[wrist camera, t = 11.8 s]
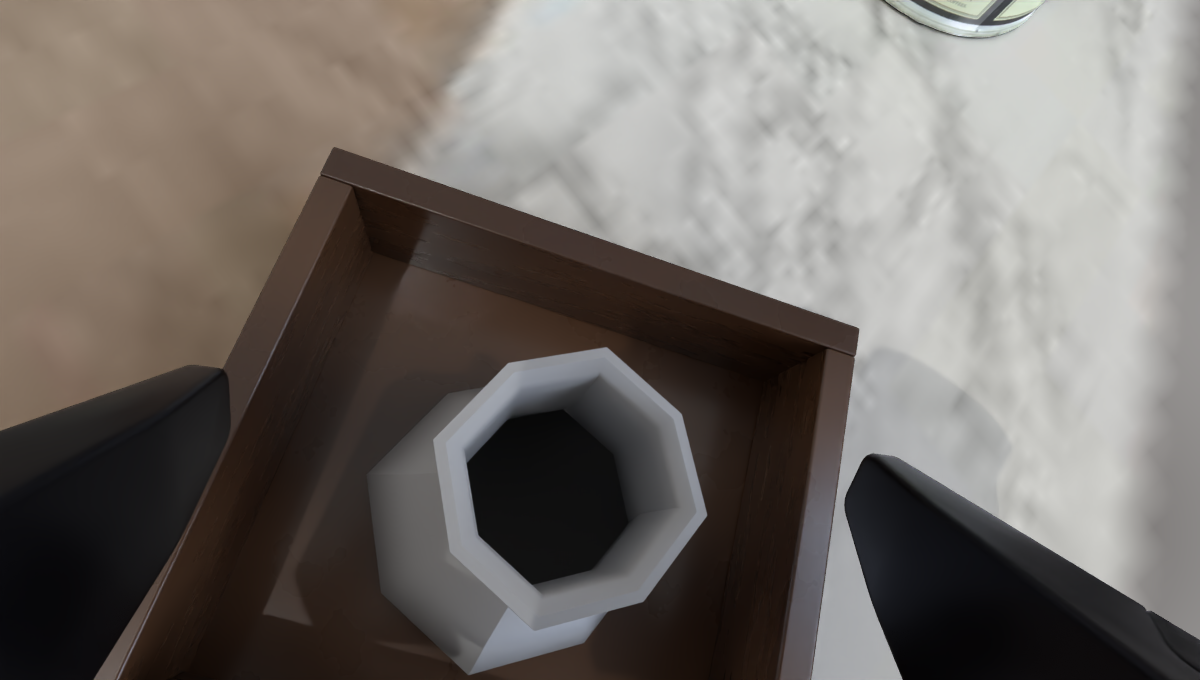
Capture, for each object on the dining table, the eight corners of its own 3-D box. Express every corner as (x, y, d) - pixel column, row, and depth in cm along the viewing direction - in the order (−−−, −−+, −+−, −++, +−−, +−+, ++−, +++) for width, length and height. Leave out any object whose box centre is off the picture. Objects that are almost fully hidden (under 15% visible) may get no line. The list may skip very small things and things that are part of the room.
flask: (317, 462, 16) (123, 353, 7) (562, 336, 19) (662, 128, 9) (451, 732, 15) (433, 1032, 6) (695, 563, 17) (960, 584, 8)
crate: (697, 830, 16) (779, 928, 12) (151, 693, 15) (29, 752, 11) (779, 372, 21) (860, 328, 16) (361, 233, 19) (333, 145, 15)
